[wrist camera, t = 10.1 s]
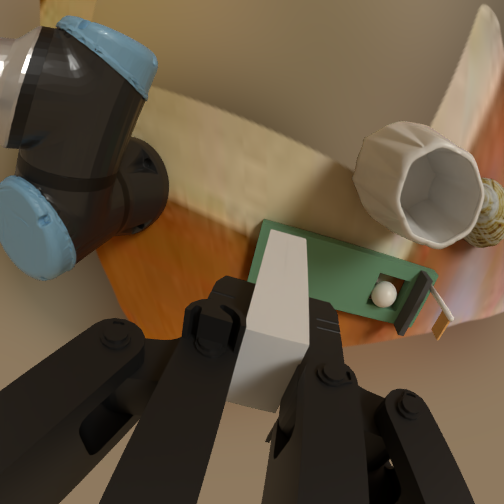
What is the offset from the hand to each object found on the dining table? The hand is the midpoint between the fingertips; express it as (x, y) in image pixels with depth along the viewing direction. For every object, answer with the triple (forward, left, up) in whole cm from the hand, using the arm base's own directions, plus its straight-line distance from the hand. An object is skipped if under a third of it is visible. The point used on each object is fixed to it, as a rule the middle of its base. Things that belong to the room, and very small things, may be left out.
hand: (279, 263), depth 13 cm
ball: (+17, -13, -29) cm, 36 cm away
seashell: (+29, +4, -30) cm, 42 cm away
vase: (+14, +4, -30) cm, 33 cm away
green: (+12, -13, -29) cm, 34 cm away
